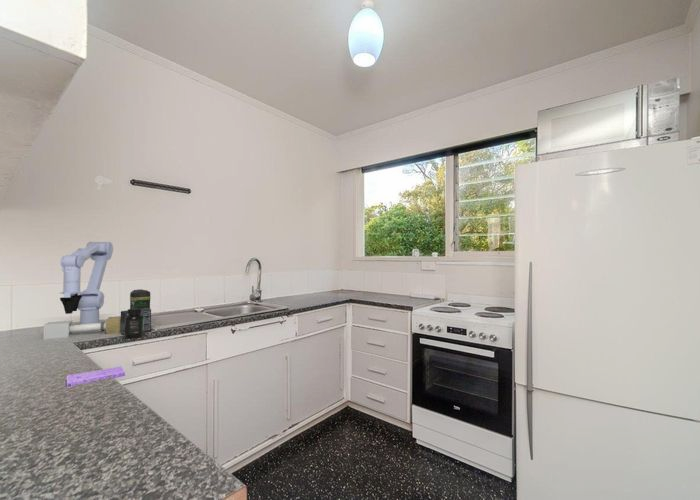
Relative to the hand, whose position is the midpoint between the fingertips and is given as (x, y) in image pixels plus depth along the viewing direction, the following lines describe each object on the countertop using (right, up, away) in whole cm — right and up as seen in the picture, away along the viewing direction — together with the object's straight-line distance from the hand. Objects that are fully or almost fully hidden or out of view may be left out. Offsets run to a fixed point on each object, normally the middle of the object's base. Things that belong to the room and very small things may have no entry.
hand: (71, 312), depth 143 cm
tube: (+7, -9, 0) cm, 12 cm away
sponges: (+53, -9, -53) cm, 76 cm away
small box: (+27, -10, +3) cm, 29 cm away
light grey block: (-2, -10, -5) cm, 11 cm away
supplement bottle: (+31, -10, -5) cm, 33 cm away
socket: (+15, -10, +5) cm, 19 cm away
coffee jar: (+20, -11, +16) cm, 28 cm away
